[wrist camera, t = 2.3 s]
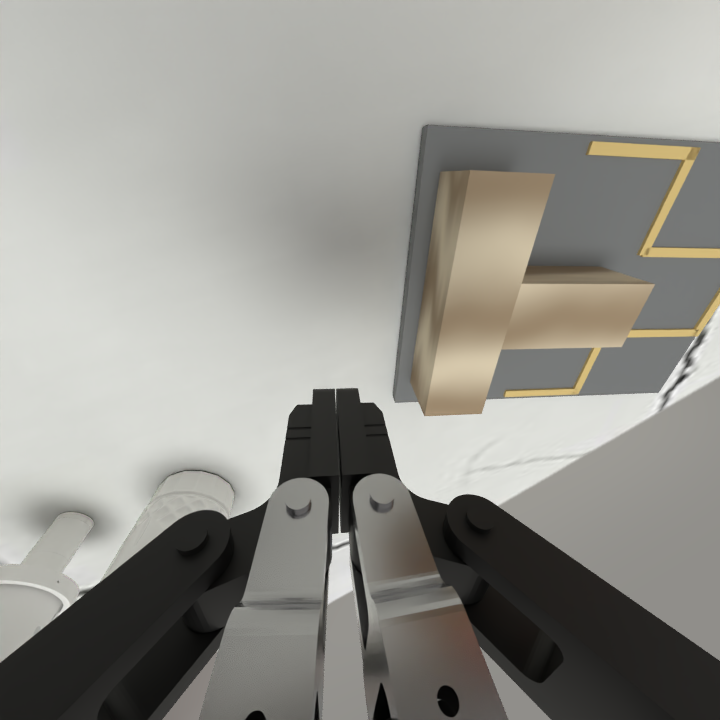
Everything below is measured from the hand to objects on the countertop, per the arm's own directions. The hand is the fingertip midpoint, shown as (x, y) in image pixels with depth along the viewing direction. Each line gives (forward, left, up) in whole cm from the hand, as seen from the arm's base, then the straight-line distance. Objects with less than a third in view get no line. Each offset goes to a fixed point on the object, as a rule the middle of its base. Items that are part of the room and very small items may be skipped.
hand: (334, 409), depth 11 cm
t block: (0, +12, -11) cm, 16 cm away
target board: (0, +17, -12) cm, 21 cm away
